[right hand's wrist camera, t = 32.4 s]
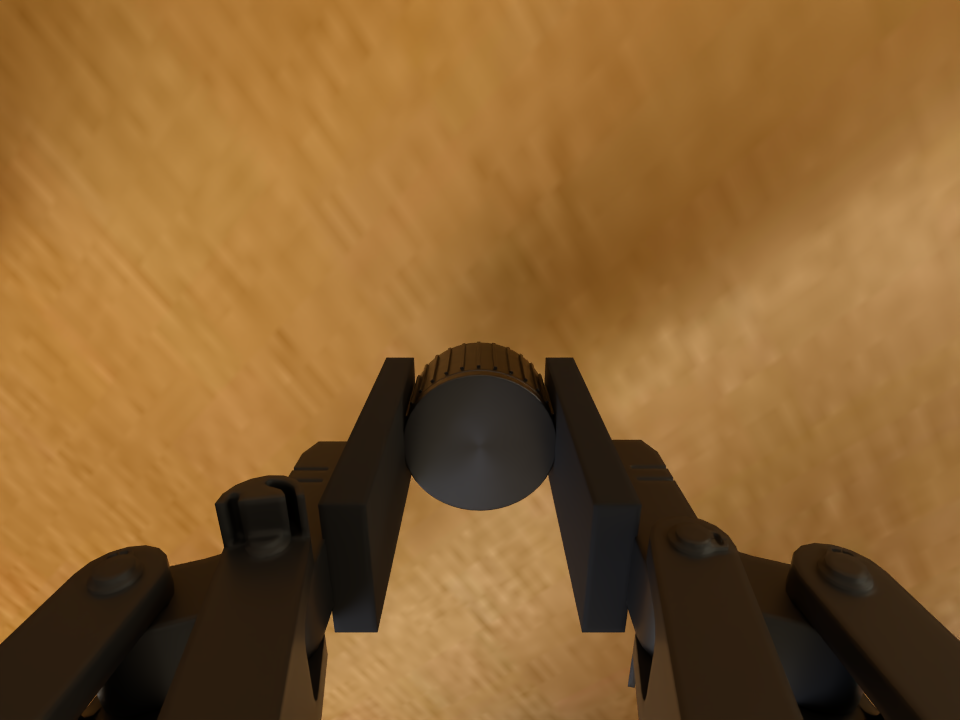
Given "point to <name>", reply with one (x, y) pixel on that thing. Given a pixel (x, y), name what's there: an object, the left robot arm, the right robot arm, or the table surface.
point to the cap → (479, 428)
